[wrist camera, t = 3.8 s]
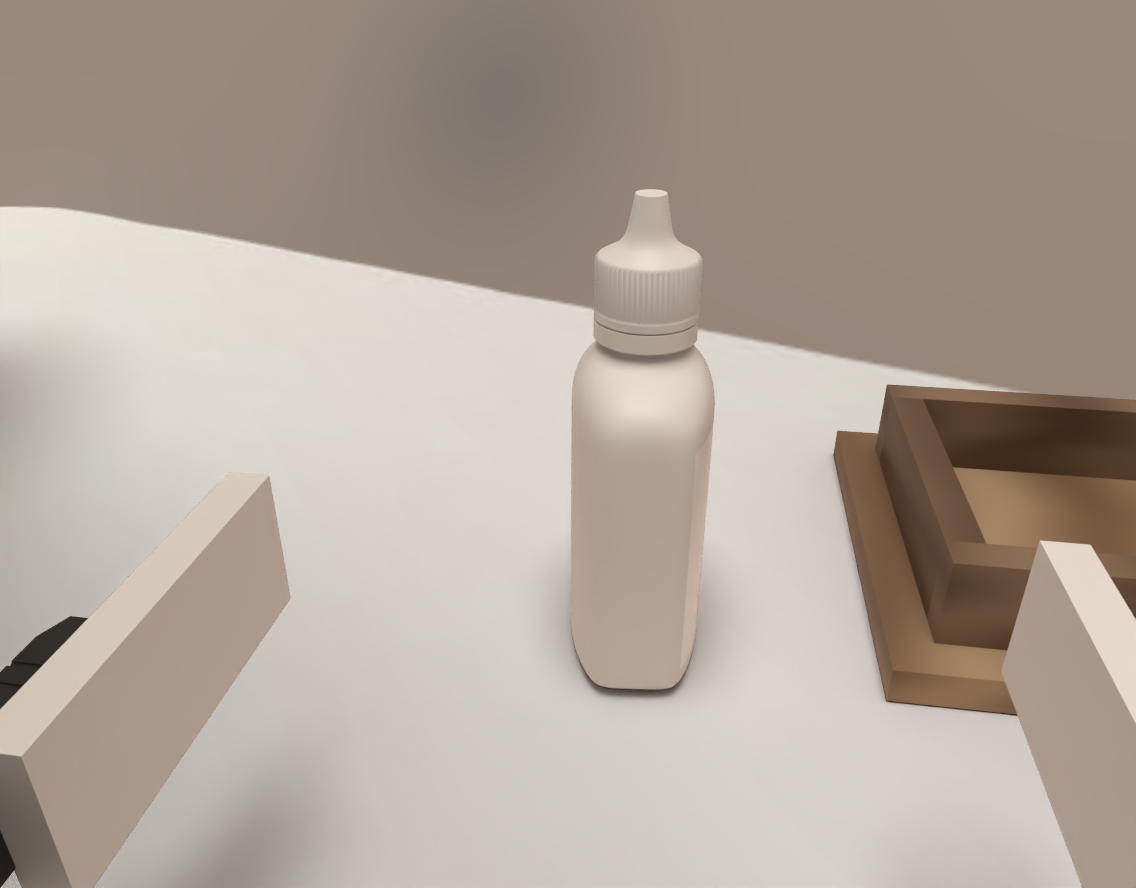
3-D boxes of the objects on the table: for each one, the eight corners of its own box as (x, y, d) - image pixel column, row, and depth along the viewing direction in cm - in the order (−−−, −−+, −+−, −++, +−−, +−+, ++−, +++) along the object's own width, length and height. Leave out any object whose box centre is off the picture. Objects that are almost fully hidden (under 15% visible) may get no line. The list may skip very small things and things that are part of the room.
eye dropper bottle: (743, 599, 27) (791, 180, 21) (658, 720, 23) (689, 237, 17) (611, 554, 29) (623, 160, 23) (510, 658, 25) (494, 206, 19)
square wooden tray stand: (886, 700, 23) (911, 588, 21) (833, 454, 34) (847, 368, 33) (1462, 761, 21) (1537, 644, 20) (1208, 481, 33) (1242, 392, 31)
